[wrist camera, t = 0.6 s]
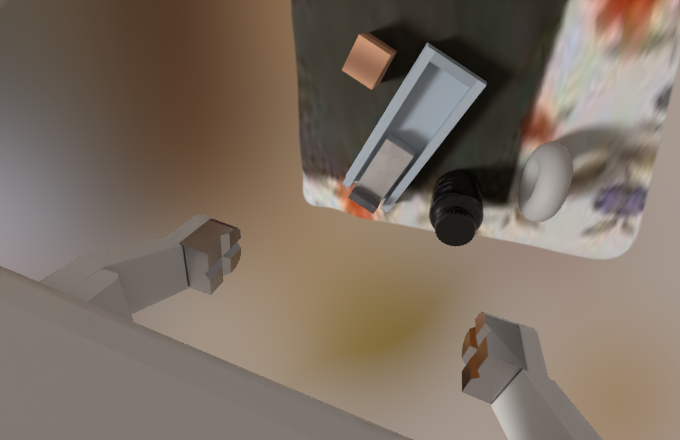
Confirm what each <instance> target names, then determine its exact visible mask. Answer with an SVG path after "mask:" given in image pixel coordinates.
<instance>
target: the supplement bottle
mask: <svg viewBox="0 0 680 440" xmlns="http://www.w3.org/2000/svg"><path fill="white" fill-rule="evenodd" d="M429 218H430V222H431V224H432V226H433V228H434V229H435V233H436V234H437V237H438V239H439V240H441V242H443V243H445V244H447V245H450V246H461V245H464V244H467V243H468V242H470V241H471V240H472V238H473V237H474V235H475V232H476V231H477V230H478V228H479V227H480V226H481V224H482V221H483V204H482V194H481V187H480V184H479V182H478V180H477V179H476V178H475V177H474V176H473V175H471V174H470V173H467V172H464V171H451V172H448V173H446V174H444V175H443V176H441V177H440V178H439V179H438V180H437V182H436V184H435V186H434V190H433V195H432V200H431V206H430V212H429Z"/></svg>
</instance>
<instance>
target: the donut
mask: <svg viewBox="0 0 680 440" xmlns="http://www.w3.org/2000/svg"><path fill="white" fill-rule="evenodd" d="M572 174H573V162H572V156H571V154H570V151H569V150H568V148H567V147H566V146H564V145H562V144H560V143H557V142H548V143H545V144H543V145H541V146H539V147H538V148H537V149H536V150H535V151H534V152H533V153H532V154H531V156H530V158H529V159H528V161H527V163H526V166H525V168H524V171H523V174H522V177H521V181H520V186H519V193H518V203H519V208H520V211H521V213H522V214H523V216H524V217H525V218H526V219H528V220H531V221H535V222H543V221H546V220H548V219H550V218H551V217H553V216H554V215H555V214H556V213H557V212H558V211H559V209H560V208H561V206H562V205H563V203H564V201H565V199H566V197H567V194H568V192H569V189H570V185H571V181H572Z"/></svg>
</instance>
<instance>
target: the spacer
mask: <svg viewBox="0 0 680 440" xmlns="http://www.w3.org/2000/svg"><path fill="white" fill-rule="evenodd" d="M396 53H397V51H396V50H394V49H393V48H391V47H390V46H388V45H387V44H385V43H384V42H382V41H381V40H379V39H378V38H376V37H375V36H373V35H372V34H370V33H364V34H359V36H358V38H357V40H356V42H355V44H354V46H353V48H352V50H351V52H350V54H349V56H348V58H347V60H346V63H345V65H344V67H343V69H342V71H344V72H346V73H347V74H349V75H350V76H352V77H353V78H355V79H356V80H358V81H359V82H361V83H362V84H364V85H365V86H367V87H368V88H370V89H371V90H372V89H373V88H374V87H376V86H377V85H378V84H379V83H380V82H381V80H382V78H383V76H384V75H385V73H386V71H387V69H388V68H389V66H390V64H391V62H392V60H393V59H394V57H395V55H396Z"/></svg>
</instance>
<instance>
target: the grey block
mask: <svg viewBox="0 0 680 440" xmlns="http://www.w3.org/2000/svg"><path fill="white" fill-rule="evenodd" d="M415 152H416V149H415V148H413V147H412V146H410V145H409V144H407V143H406V142H404V141H403V140H401V139H399V138H398V137H396V136H395V135H393V134H392V133H390V134H389V135H388V137H387V139H386V140H385V142H384V143H383V145H382V146H381V148H380V149H379V151H378V152H377V154H376V155H375V157H374V158H373V160H372V162H371V163H370V165H369V166H368V168H367V169H366V171H365V172H364V174H363V175H362V177H361V178H360V180H359V182H358V183H357V185H356V186H355V188H354V189H353V191H352V192H351V194H350V196H349V197H348V198H350V199H351V200H353V201H354V202H356V203H357V204H359V205H360V206H362V207H364V208H365V209H367V210H368V211H370V212H371V213H374V212H375V211H376V209H377V208H378V205H379V203H380V202H381V200H382V199H383V198H384V196H385V195H386V194H387V192H388V191H389V190H390V188H391V187H392V185H393V184H394V183H395V181H396V180H397V179H398V177H399V176H400V175H401V173H402V172H403V171H404V169H405V168H406V167H407V165H408V164H409V163H410V161H411V160H412V159H413V157H414V155H415Z"/></svg>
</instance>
